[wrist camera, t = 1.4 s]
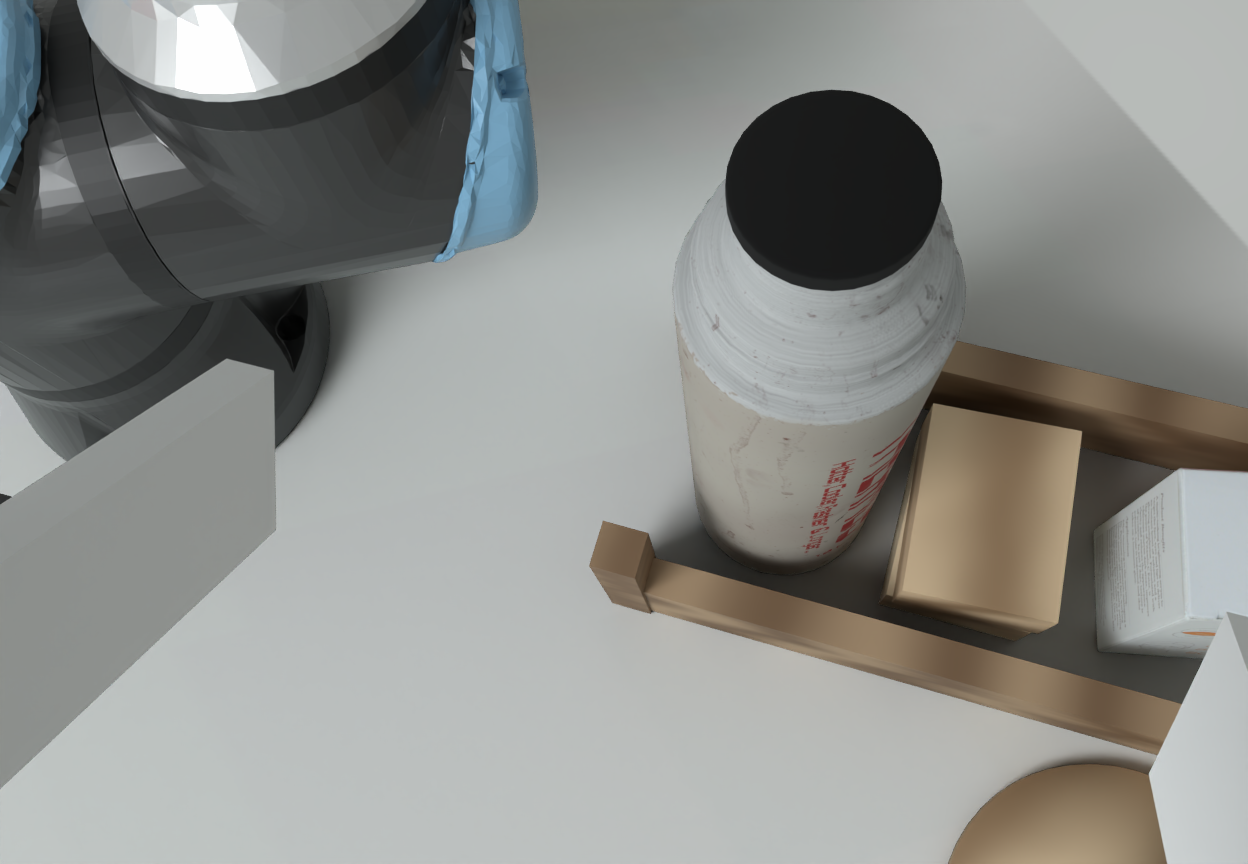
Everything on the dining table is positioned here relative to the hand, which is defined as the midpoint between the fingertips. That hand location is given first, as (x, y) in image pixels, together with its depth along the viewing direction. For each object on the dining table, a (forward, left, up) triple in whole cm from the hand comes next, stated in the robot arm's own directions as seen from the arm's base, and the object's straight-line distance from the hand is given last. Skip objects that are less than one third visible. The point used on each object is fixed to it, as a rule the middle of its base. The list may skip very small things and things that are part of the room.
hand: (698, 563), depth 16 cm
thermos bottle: (-5, +9, -36) cm, 37 cm away
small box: (+10, +18, -36) cm, 41 cm away
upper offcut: (+2, +13, -33) cm, 36 cm away
